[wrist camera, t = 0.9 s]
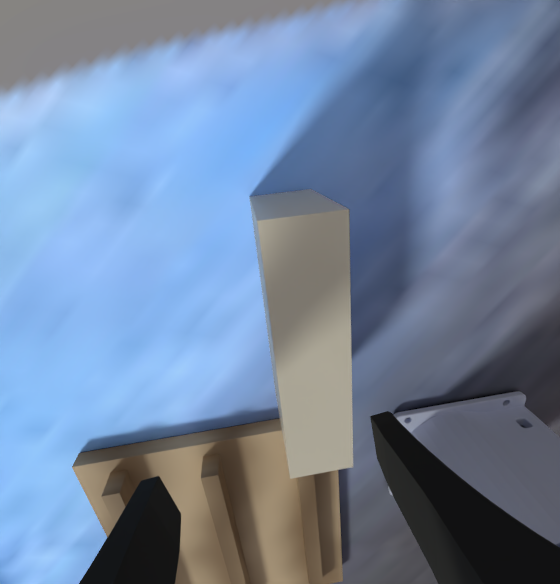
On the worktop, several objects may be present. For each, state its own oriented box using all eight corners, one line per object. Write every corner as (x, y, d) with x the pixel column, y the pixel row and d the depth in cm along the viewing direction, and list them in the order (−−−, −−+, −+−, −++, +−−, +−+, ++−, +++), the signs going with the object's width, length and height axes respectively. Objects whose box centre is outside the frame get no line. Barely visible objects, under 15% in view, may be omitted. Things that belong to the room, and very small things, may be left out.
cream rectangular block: (310, 188, 16) (349, 209, 11) (322, 384, 21) (353, 466, 16) (249, 196, 16) (257, 220, 11) (275, 392, 21) (290, 478, 15)
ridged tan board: (331, 409, 22) (343, 439, 20) (339, 567, 29) (348, 602, 27) (79, 453, 21) (60, 490, 18) (153, 606, 28) (145, 647, 26)
